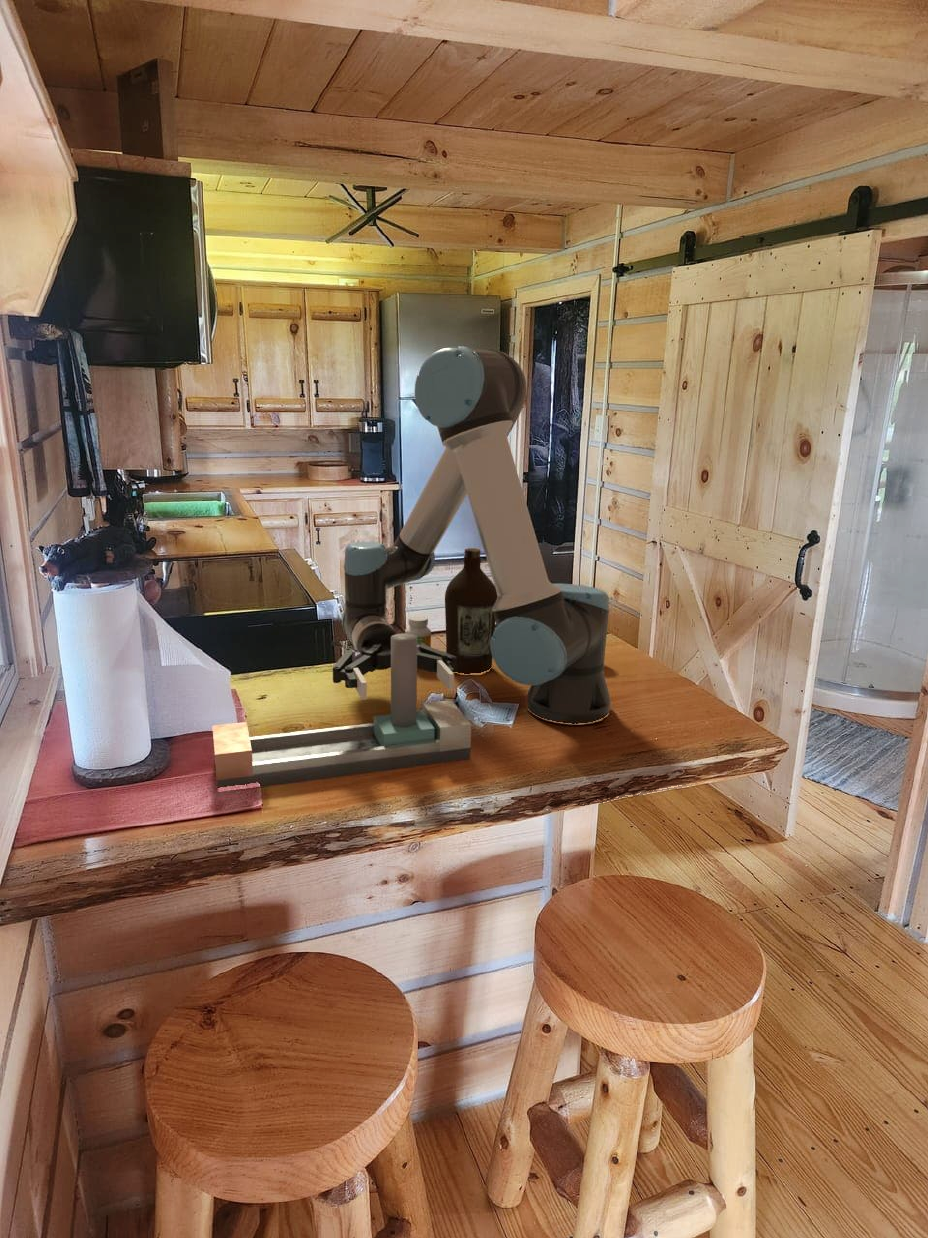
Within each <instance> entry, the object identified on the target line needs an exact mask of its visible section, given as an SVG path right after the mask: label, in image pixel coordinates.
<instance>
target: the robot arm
mask: <svg viewBox="0 0 928 1238" xmlns="http://www.w3.org/2000/svg"><path fill="white" fill-rule="evenodd" d="M525 376H526V375H525V373H524V372H523V369H522V367H521V366H520V364H519V363H518V362H517V360H516V359H514V358H513V357H512V356H511V355H509V354H508V353H505V352H503V351H500V350H496V349H479V348H478V349H477V348H470V347H466V346H462V345H461V346H460V345H459V346H454V347H445V348H441V349H439V350H436V351H435V352H433V353H432V354H430V355H428V357H427V358H426V359H425V360H424V362H423V363H422V365H421V366H420V369H419V372H418V374H417V375H416V377H415V378H416V379H415V382H414V383H415V384H414V398H415V404H416V407H417V410H418V412H419V413H420V414H421V417H423V418H424V420H425V421H427V422H428V423H430V424H431V425H433V426H435V427H437V430H438V434H439V436H440V440H441V443H442V446H443V447H444V451H443V453H442V454H441V456H440V458H439V460H438V462H437V464H436V465H435V467H434V469H433V472H431V474H430V477H429V478H428V480H427V483H426V484H425V486H424V488H423V490H422V492H421V494H420V495H419V497H418V499H417V500H416V502H415V504H414V506H413V508H412V510H411V512H410V514H409V516H408V518H407V520H406V521H405V524H404V525H403V527H402V529H401V530H400V533H398V536H397V537H396V540H395V541H394V543H393V545H392V546H388V547H386V546H385V544H383V543H381V542H377V541H376V542H375V541H357V542H356V541H355V542H351V543H349V544H348V545H347V546H346V547H345V549H344V565H343V569H344V598H345V601H344V611H343V613H342V615H341V625H342V629H343V632H344V634H345V635H346V637H347V638H348V640H349V642H351V644H352V645H353V647H354V648H355V650H353V649H352V648H351V647H345V648H344V650H343V653H344V654H342V655H341V657H340V658H339V659H338V660H337V662H335V664H333V666H332V683H334V684H340V683H341V682H342V681H344V685H345V686H344V687H345V688H346V689H355V690H356V692H357V693H358V695H359V697H360V699H361V701H363V700H368V696H367V695H368V691H367V687H368V686H367V685H368V684H367V681H366V679H365V677H364V675H366V674H367V673H369V672H370V673H374V672H375V671H377V670H378V671H383V670H384V671H385V670H387V669H391V636H393V635H395V634H398V633H397V631H396V630H395V629H394V627H393V626H392V625H391V624H390V623H389V622H388V620H387V590H388V589H392V588H395V587H397V586H401V585H404V584H407V583H410V582H414V581H415V582H416V581H418V580H420V579H422V578H424V577H426V576H427V575H429V574H431V572H432V571H433V569H434V567H435V563H436V560H435V559H436V554H435V550H436V549H437V547H438V546H439V545H440V542H441V540H442V539H443V536H444V535H445V534H446V531H447V530H448V528H449V527H450V525H451V523H452V521H453V520H454V517H455V516H456V514H457V513H458V511H459V509H460V507H461V505H462V504H463V503H464V501H465V499H466V497H467V496H468V497H467V498H468V501H469V505H470V508H471V510H472V513H473V518H474V521H475V523H476V524H475V525H476V527H477V531H478V534H479V537H480V541H481V544H482V548H483V551H484V554H485V558H486V560H487V561H486V562H487V563H488V567H489V571H490V574H491V577H492V582H493V584H494V586H495V588H496V591H497V600H496V602H495V604H494V606H493V608H492V611H493V614H494V618H495V630H494V633H493V636H492V637H491V643H490V647H491V654H492V660H493V661H494V664H495V665H496V667H497V668H498V669H499V671H500V672H501V673H502V674H503V675H504V676H505V677H507V678H509V679H511V680H513V682H515V683H518V684H520V685H524V686H530V687H529V689H528V692H527V694H526V705H527V706H526V709H527V708H528V709H529V710H530V711H531V712H532V713H534V714H535V715H537V716H539V717H541V718H544V719H547V720H552V721H556V722H563V723H572V724H575V723H576V724H578V723H588V722H593V721H596V720H599V719H601V718H604V717H605V716H606V715H607V714H608V713H609V711H610V712H611V704H612V703H611V697H610V693H609V689H608V685H607V682H606V677H605V673H604V667H605V657H606V645H607V644H606V643H607V636H608V635H607V633H608V623H609V622H608V621H609V614H610V611H611V610H610V597H609V594H608V593H607V592H606V591H605V590H602V589H601V588H597V587H592V586H586V585H580V584H572V583H571V584H570V583H552V582H551V581H550V580H549V577H548V573H547V571H546V567H545V562H544V560H543V556H542V553H541V549H540V546H539V542H538V539H537V535H536V533H535V529H534V526H533V522H532V519H531V514H530V511H529V509H528V505H527V501H526V498H525V494H524V492H523V488H522V484H521V481H520V477H519V474H518V470H517V467H516V464H515V460H514V456H513V452H512V450H511V445H510V444H509V439H508V436H509V435H510V433H511V431H512V430H513V428H514V427H515V424H516V422H517V421H518V419H519V416H520V415H521V412H522V410H523V408H524V404H525V402H526V401H525V400H526V397H527V381H526V377H525ZM456 659H457V657H456V656H453V655H450V654H448V653H446V651H445V652H444V651H441V650H439V649H438V648H437V649H436V648H433V647H428V646H426V645H425V644H424V643H421V642H418V643H417V670H423V671H426V672H430V673H434V674H436V677H437V678H438V679H439V680H440V682H441V683H442V685H444V687H445V688H446V689H447V690H448V691H449V692H450V691H454V690H455V688H454V687H455V674H454V673H453V672H456Z"/></svg>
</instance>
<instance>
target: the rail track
mask: <svg viewBox="0 0 928 1238" xmlns="http://www.w3.org/2000/svg"><path fill="white" fill-rule="evenodd" d="M421 706H422V707H421V708H422V709H421V711H423V713H424V714H425V716H426V717H427V718H428V720H429V721H430V723H431V724H432V725H433V727H434V728H435V730H434V740H429V741H421V742H413V743H405V744H397V745H389V746H380V744H379V742H378V740H377V738H376V736H375V734H374V722H372V723H362V724H352V725H346V726H336V727H328V728H320V729H319V728H318V729H310V730H309V729H308V730H301V731H291V732H284V733H283V732H282V733H277V734H276V733H275V734H267V735H256V736H250V732H249V728H248V723H247V721H243V722H235V723H233V722H232V723H225V724H216V725H212V726H211V727H212V738H213V739H212V740H213V751H214V753H213V754H214V764H215V766H216V767H215V766H214V767H215V775H216V777H215V778H217V779H216V788H220V787H227V786H235V785H245V784H246V785H247V784H250V783H256V782H258V783H259V784H260V786H261V787H260V788H264V787H271V786H272V787H274V786H280V785H286V784H287V785H288V784H295V783H302V782H310V781H318V780H324V779H325V780H326V779H331V778H340V777H346V776H355V775H356V776H357V775H361V774H362V775H363V774H369V773H378V772H384V771H392V770H399V769H407V768H413V767H414V768H415V767H421V766H423V767H424V766H430V765H437V764H443V763H453V762H460V761H466V760H468V761H469V760H471V751H472V750H471V748H472V745H471V744H472V742H471V741H472V723H471V722H470V721H469V720H468V718H467V717H466V716H465V715H464V713H463V712H462V710H461V709H459V707H458V706H457V704H456V703H455V702H454V701H453V700H452V699H447V700H439V701H429V702H423V703H422V705H421Z"/></svg>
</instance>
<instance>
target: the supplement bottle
mask: <svg viewBox="0 0 928 1238" xmlns="http://www.w3.org/2000/svg"><path fill="white" fill-rule="evenodd" d="M407 622H408V625H409V626H407V627H406V628H405V631H404V634H413V635H415V636H417V643H418V642H421V643H424V644H425V645H426V646H428V647H431V646H432V644H431V643H432V631H431V628H430V627H428V624H429V623H428V622H429V618H428V617H427V616H425V615H411V616H408V621H407ZM431 648H432V647H431Z"/></svg>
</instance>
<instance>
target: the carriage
mask: <svg viewBox="0 0 928 1238" xmlns="http://www.w3.org/2000/svg"><path fill="white" fill-rule="evenodd" d="M417 682H418V668H417V636H415V635H413V634H405V633H397V634H395V635H393V636H391V667H390V714H382V715H380V714H379V715H373V723H374V734H375V736H376V738H377V740H378V742H379V744H380V746H389V745H397V744H405V743H413V742H421V741H429V740H434V730H435V728H434V727H433V725H432V724H431V723H430V721H429V720H428V718H427V717H426V716H425V714H424V713H423V711H422V710H417V701H418V700H417V699H418V695H417V694H418V693H417V692H418V691H417V690H418V683H417Z"/></svg>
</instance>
